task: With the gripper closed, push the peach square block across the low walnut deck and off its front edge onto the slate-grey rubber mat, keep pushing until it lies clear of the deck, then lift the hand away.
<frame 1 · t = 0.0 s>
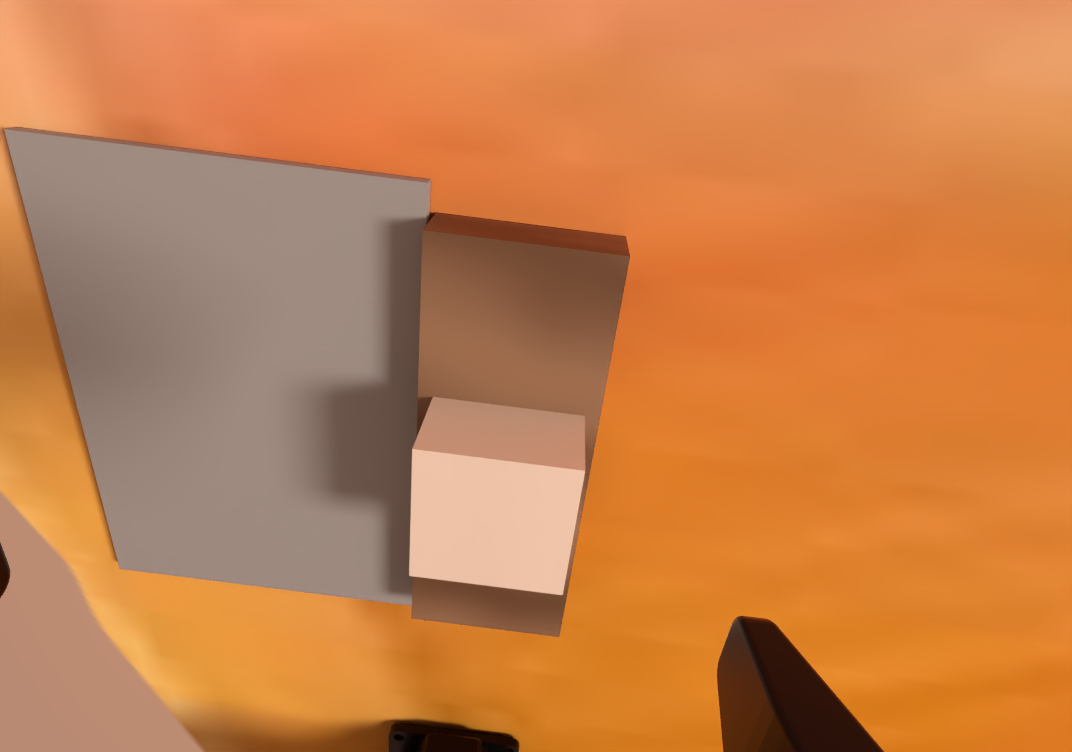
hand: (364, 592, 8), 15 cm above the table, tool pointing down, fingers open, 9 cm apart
peach square block: (502, 467, 23), point 2 cm above the table, touching deck
mat: (251, 403, 24), on the table
deck: (507, 435, 24), on the table
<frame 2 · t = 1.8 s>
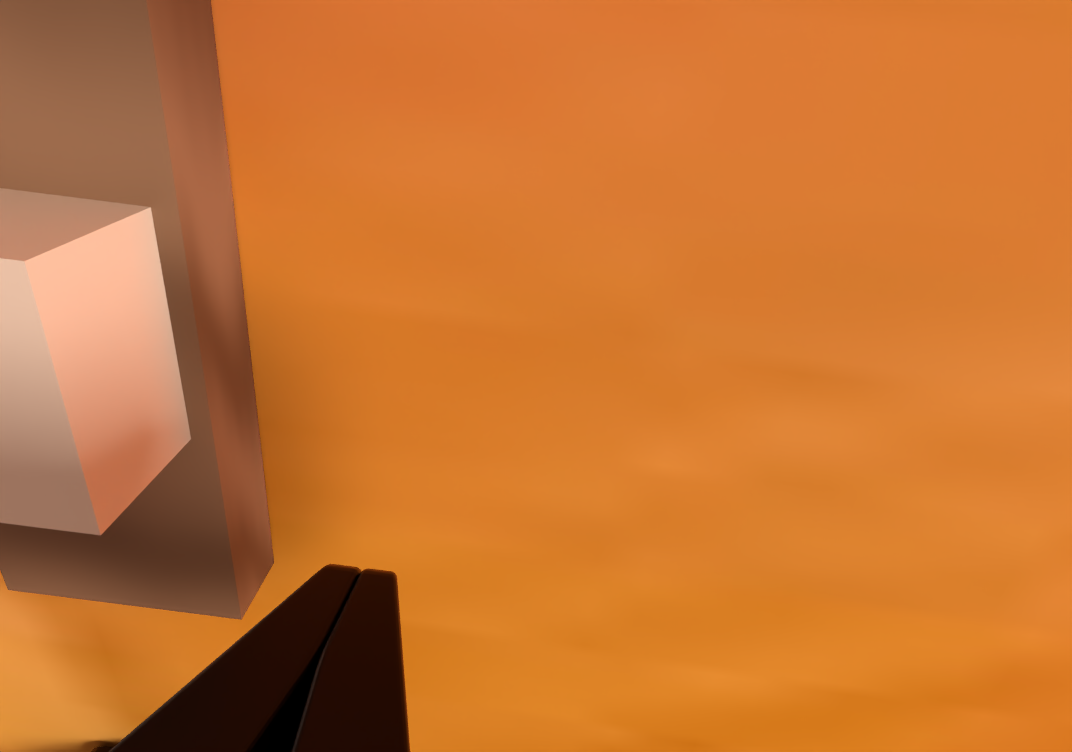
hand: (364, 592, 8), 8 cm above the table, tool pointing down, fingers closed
peach square block: (46, 317, 13), point 2 cm above the table, touching deck
deck: (110, 282, 15), on the table
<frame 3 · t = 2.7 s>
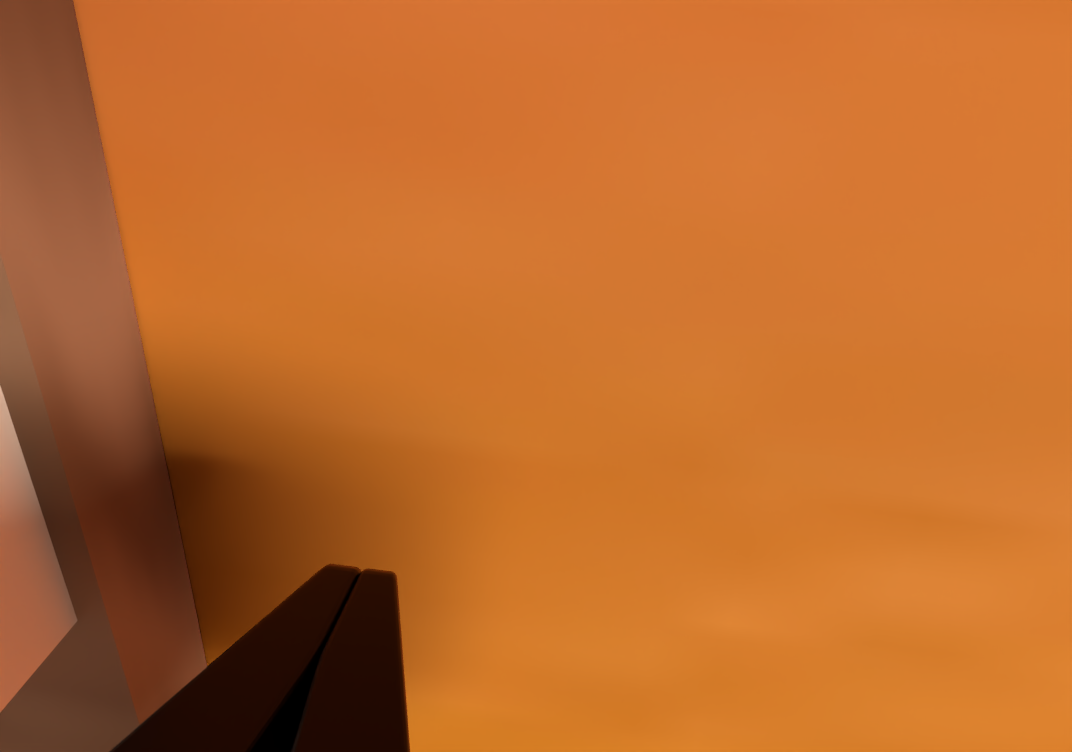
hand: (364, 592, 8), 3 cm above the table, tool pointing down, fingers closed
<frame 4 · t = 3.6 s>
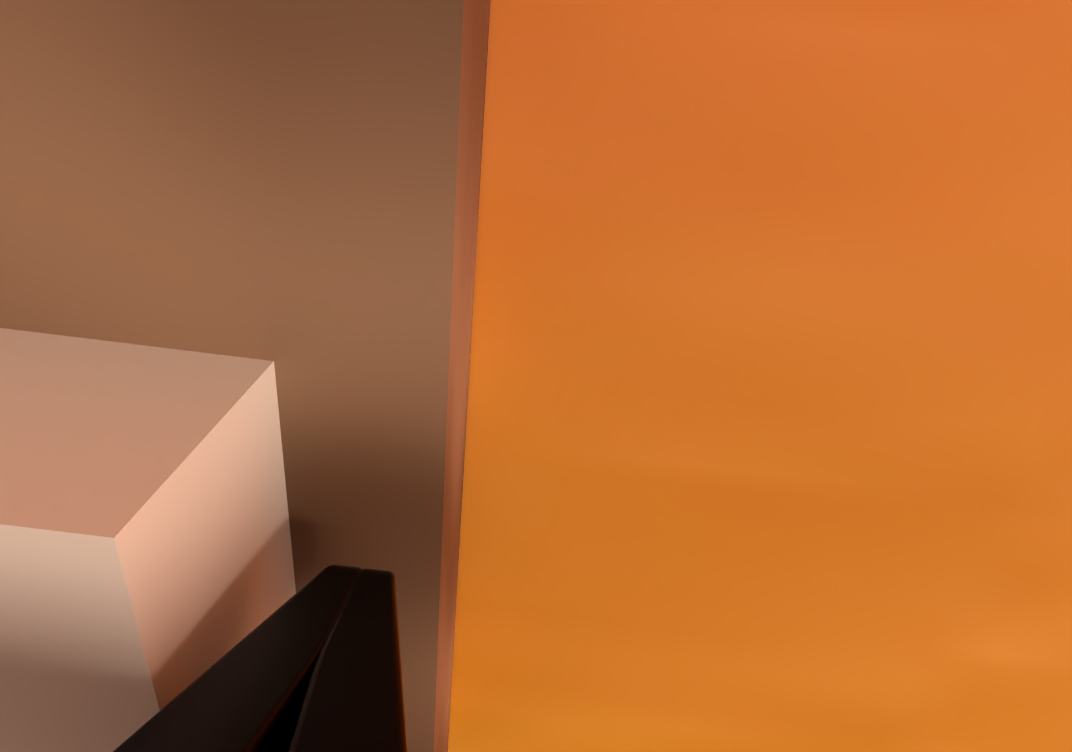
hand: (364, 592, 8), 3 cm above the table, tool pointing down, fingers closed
peach square block: (105, 502, 9), point 2 cm above the table, touching deck, gripper
deck: (280, 436, 11), on the table
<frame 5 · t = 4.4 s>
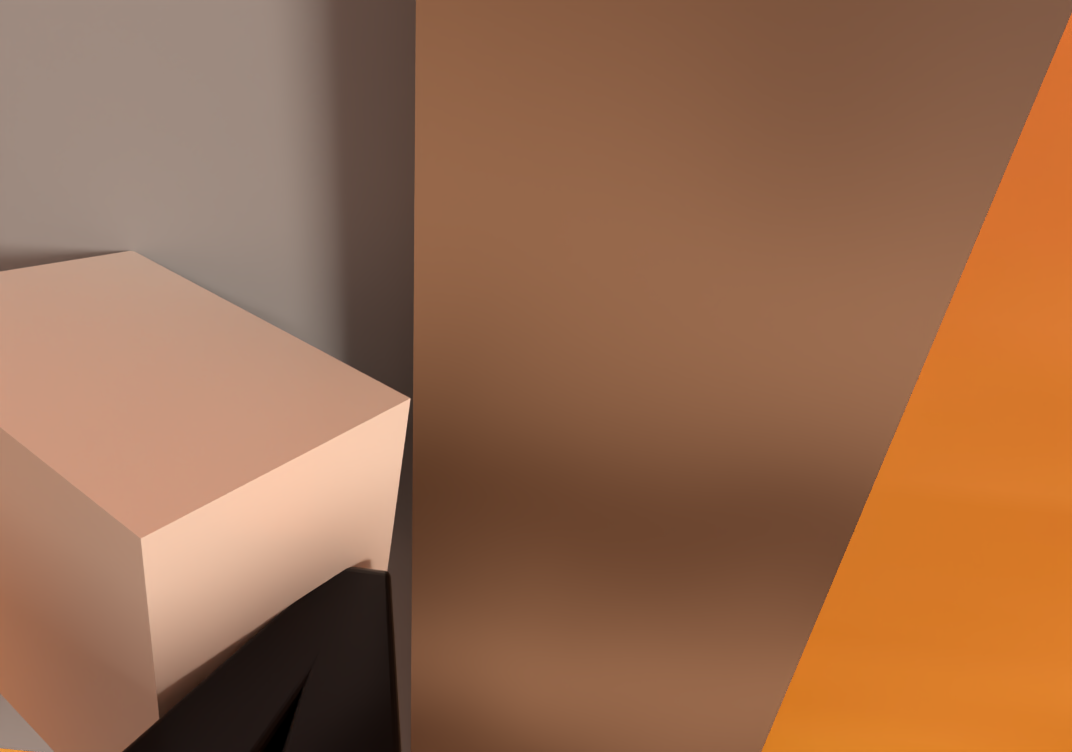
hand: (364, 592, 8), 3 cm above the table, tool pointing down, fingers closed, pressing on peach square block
peach square block: (254, 475, 9), point 2 cm above the table, tilted 28°, touching gripper, mat
mat: (44, 407, 11), on the table
deck: (615, 467, 11), on the table
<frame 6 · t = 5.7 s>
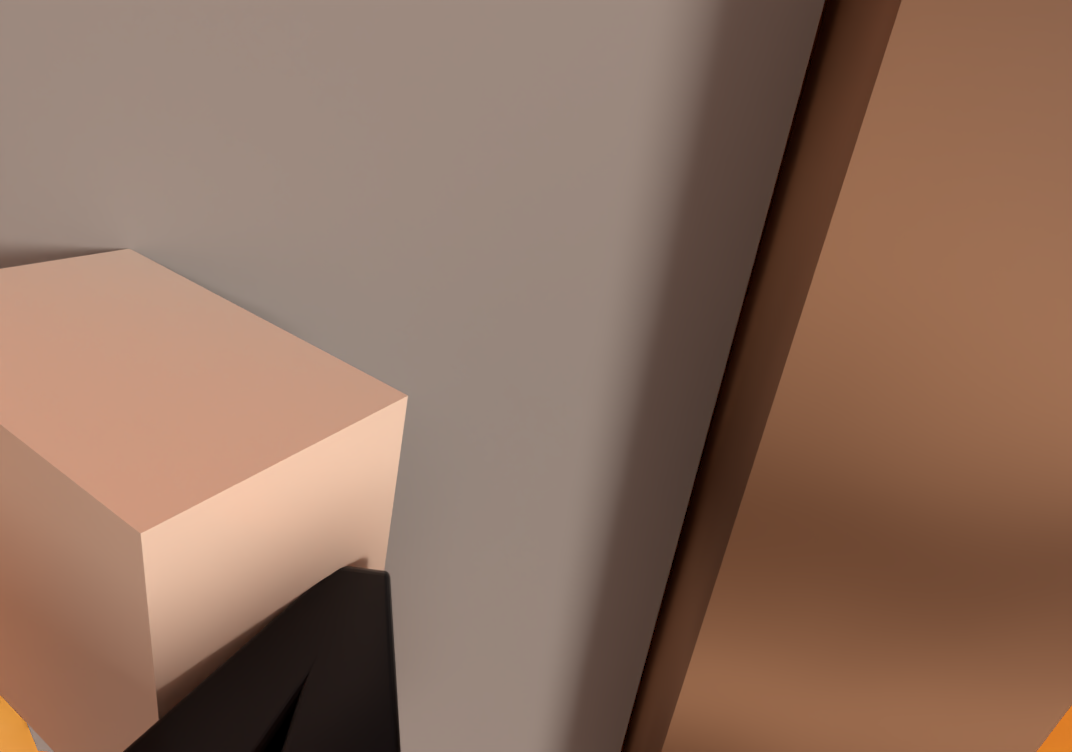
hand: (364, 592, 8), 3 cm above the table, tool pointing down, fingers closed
peach square block: (252, 473, 9), point 2 cm above the table, tilted 28°, touching gripper, mat
mat: (306, 436, 11), on the table
deck: (872, 502, 11), on the table
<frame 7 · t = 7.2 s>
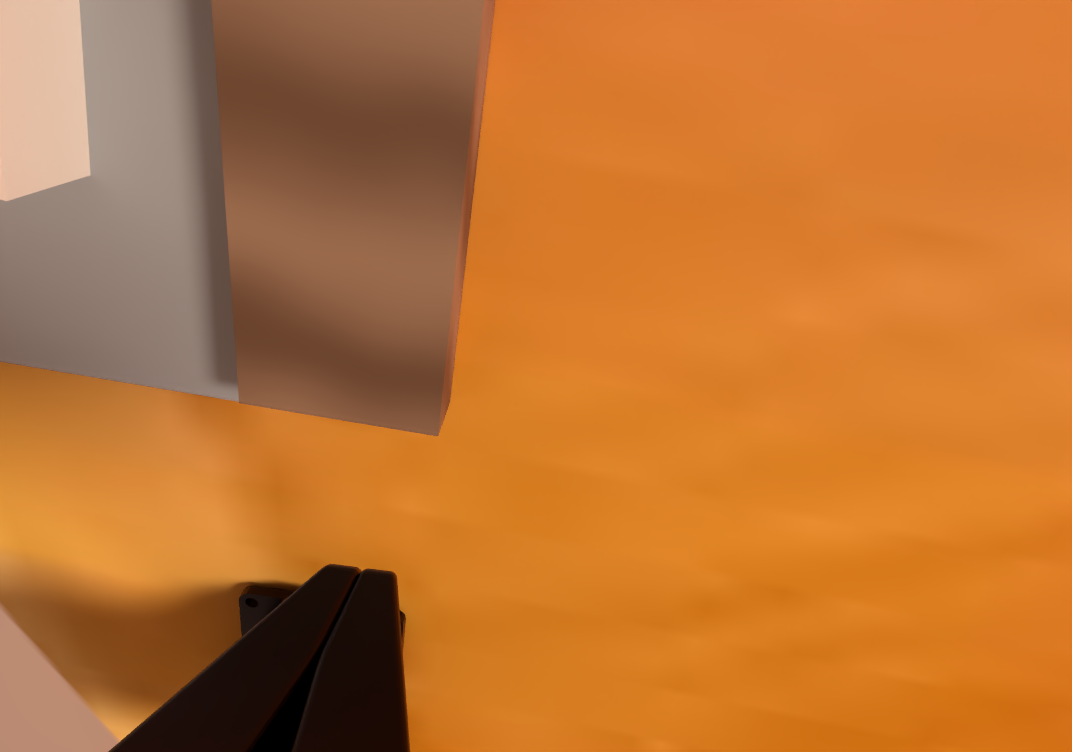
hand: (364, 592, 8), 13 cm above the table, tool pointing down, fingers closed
mat: (7, 67, 17), on the table
deck: (367, 131, 18), on the table
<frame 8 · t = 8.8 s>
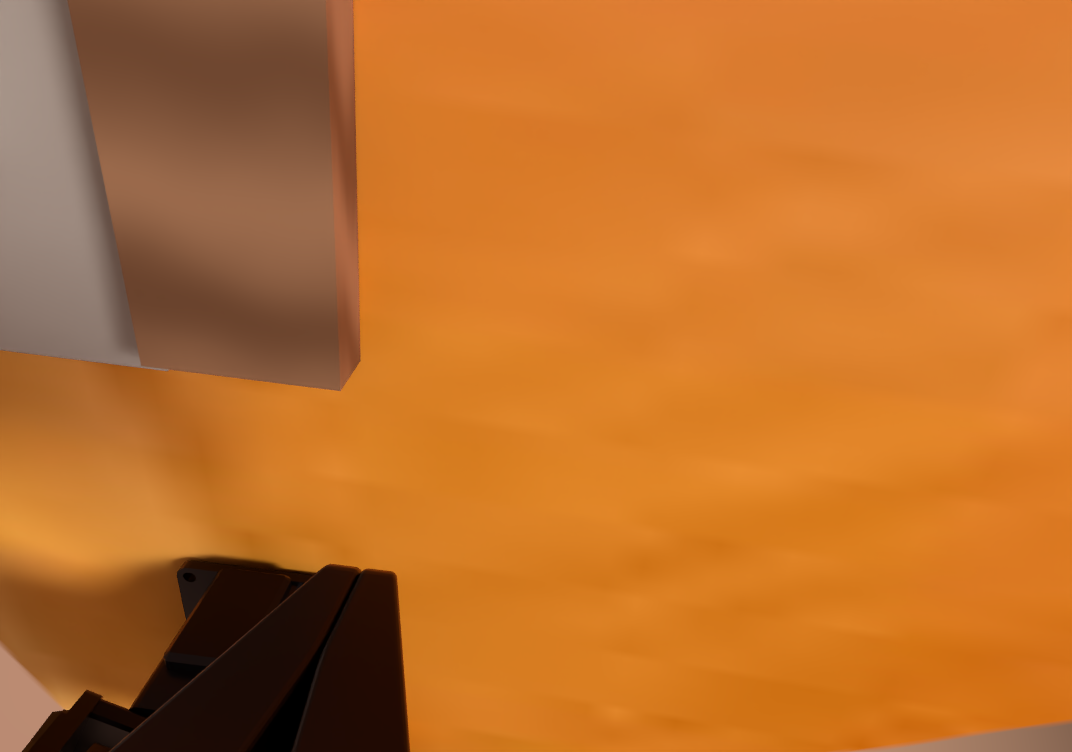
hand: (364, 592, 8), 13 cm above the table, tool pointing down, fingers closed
deck: (243, 82, 17), on the table
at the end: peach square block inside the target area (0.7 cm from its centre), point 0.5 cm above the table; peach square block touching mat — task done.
